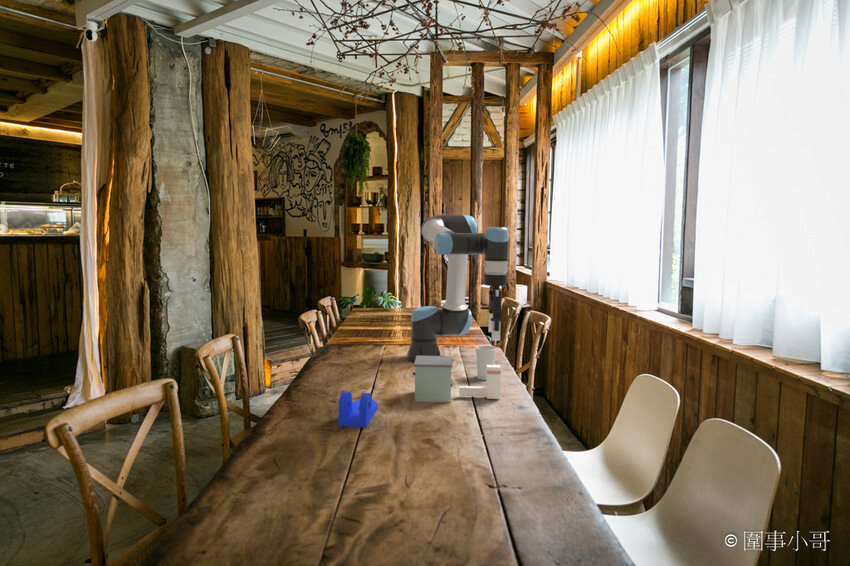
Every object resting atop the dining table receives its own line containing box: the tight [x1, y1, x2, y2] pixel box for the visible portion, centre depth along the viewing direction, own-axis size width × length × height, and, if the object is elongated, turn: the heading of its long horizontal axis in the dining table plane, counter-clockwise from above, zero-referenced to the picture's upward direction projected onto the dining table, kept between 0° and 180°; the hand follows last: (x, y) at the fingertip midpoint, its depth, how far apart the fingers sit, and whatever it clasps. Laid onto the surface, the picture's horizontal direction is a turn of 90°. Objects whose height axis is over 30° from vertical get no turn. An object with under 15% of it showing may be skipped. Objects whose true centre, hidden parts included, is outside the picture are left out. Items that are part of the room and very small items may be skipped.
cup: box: [475, 345, 497, 381], centre depth 187 cm, size 8×8×12 cm
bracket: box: [337, 391, 378, 428], centre depth 147 cm, size 18×8×9 cm, turn 173°
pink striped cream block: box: [458, 364, 502, 400], centre depth 164 cm, size 14×3×11 cm, turn 87°
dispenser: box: [413, 355, 454, 404], centre depth 164 cm, size 13×12×13 cm
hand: (494, 336), depth 162 cm, fingers open, 13 cm apart
